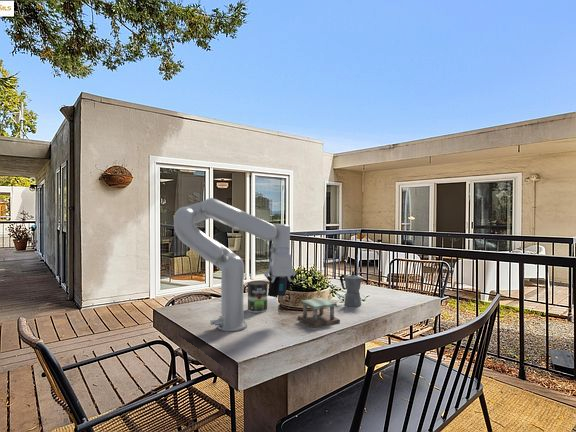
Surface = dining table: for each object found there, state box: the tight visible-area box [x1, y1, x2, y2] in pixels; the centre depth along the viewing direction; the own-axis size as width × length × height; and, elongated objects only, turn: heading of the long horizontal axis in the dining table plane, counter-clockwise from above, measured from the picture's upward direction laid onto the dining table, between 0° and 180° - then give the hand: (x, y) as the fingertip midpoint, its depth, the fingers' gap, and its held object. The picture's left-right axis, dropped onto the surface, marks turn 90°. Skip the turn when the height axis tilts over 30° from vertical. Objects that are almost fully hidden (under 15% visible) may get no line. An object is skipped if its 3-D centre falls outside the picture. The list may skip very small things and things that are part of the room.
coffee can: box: [247, 280, 269, 314], centre depth 177 cm, size 10×10×14 cm
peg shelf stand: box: [297, 297, 341, 328], centre depth 158 cm, size 14×14×9 cm
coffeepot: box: [339, 271, 364, 308], centre depth 188 cm, size 15×9×18 cm, turn 44°
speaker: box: [267, 274, 288, 298], centre depth 155 cm, size 8×6×10 cm
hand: (279, 290), depth 156 cm, fingers closed on speaker, 6 cm apart
